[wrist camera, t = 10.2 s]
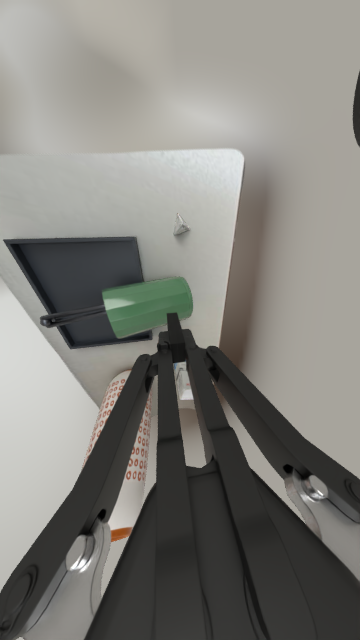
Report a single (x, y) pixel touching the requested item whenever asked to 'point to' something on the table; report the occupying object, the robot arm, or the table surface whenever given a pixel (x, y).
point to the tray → (80, 281)
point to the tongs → (49, 323)
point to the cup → (146, 305)
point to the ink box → (183, 381)
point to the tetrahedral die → (180, 225)
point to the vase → (136, 470)
